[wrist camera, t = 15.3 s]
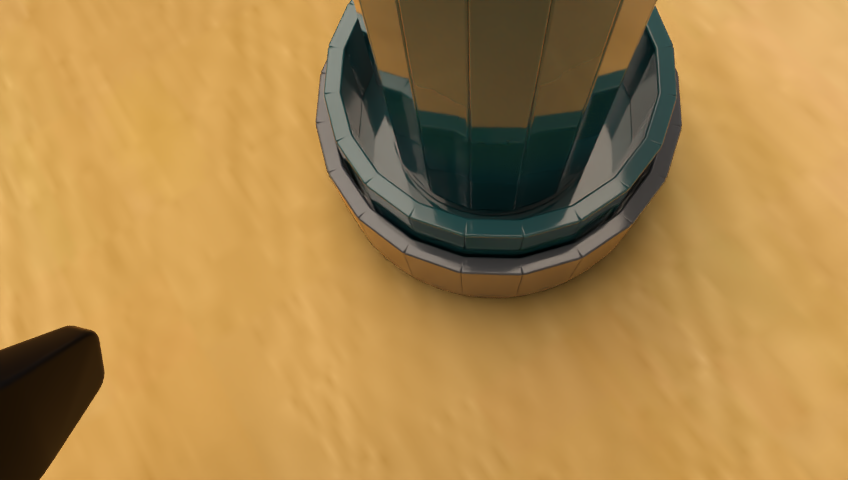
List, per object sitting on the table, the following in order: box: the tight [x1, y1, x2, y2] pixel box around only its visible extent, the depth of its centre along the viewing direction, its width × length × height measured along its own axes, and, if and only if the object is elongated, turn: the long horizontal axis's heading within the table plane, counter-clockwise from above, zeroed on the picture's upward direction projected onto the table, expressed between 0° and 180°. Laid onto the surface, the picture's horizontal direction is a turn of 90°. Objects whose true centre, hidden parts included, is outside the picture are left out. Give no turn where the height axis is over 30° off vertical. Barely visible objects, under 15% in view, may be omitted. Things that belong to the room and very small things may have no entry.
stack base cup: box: [316, 61, 682, 298], centre depth 21 cm, size 11×11×3 cm
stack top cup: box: [324, 0, 677, 258], centre depth 20 cm, size 10×10×5 cm
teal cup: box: [353, 0, 657, 216], centre depth 16 cm, size 6×6×10 cm
